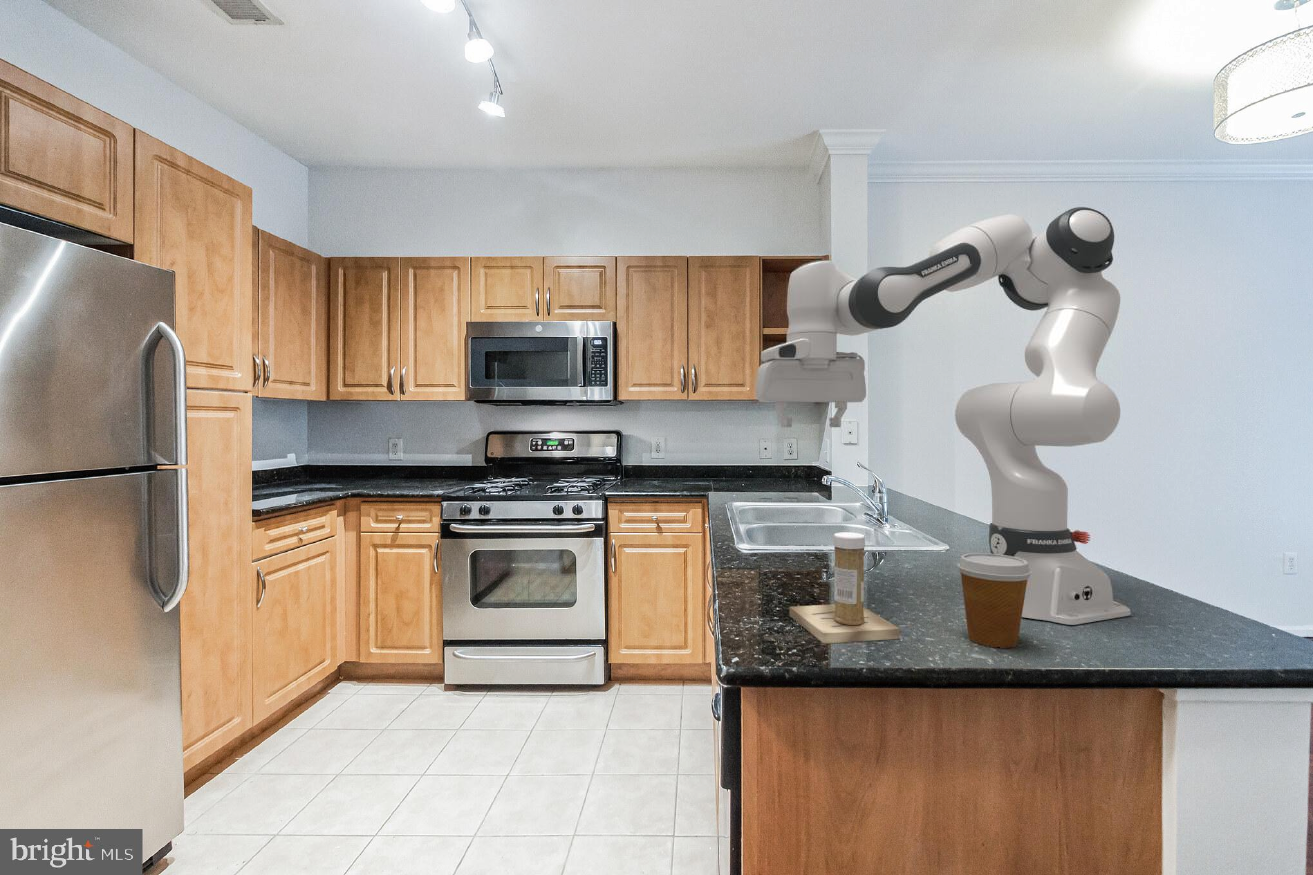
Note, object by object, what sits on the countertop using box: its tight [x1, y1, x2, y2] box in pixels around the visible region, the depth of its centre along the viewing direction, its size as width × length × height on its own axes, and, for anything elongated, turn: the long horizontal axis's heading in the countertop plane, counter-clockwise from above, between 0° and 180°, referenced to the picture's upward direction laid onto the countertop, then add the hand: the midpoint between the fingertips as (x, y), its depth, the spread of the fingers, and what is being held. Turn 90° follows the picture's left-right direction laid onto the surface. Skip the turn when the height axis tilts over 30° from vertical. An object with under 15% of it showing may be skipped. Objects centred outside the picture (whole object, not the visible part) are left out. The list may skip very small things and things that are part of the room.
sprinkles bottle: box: [833, 531, 866, 625], centre depth 94 cm, size 5×5×14 cm
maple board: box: [788, 603, 901, 644], centre depth 96 cm, size 12×13×2 cm
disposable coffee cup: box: [956, 552, 1032, 649], centre depth 90 cm, size 10×10×12 cm
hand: (810, 427), depth 112 cm, fingers open, 8 cm apart
